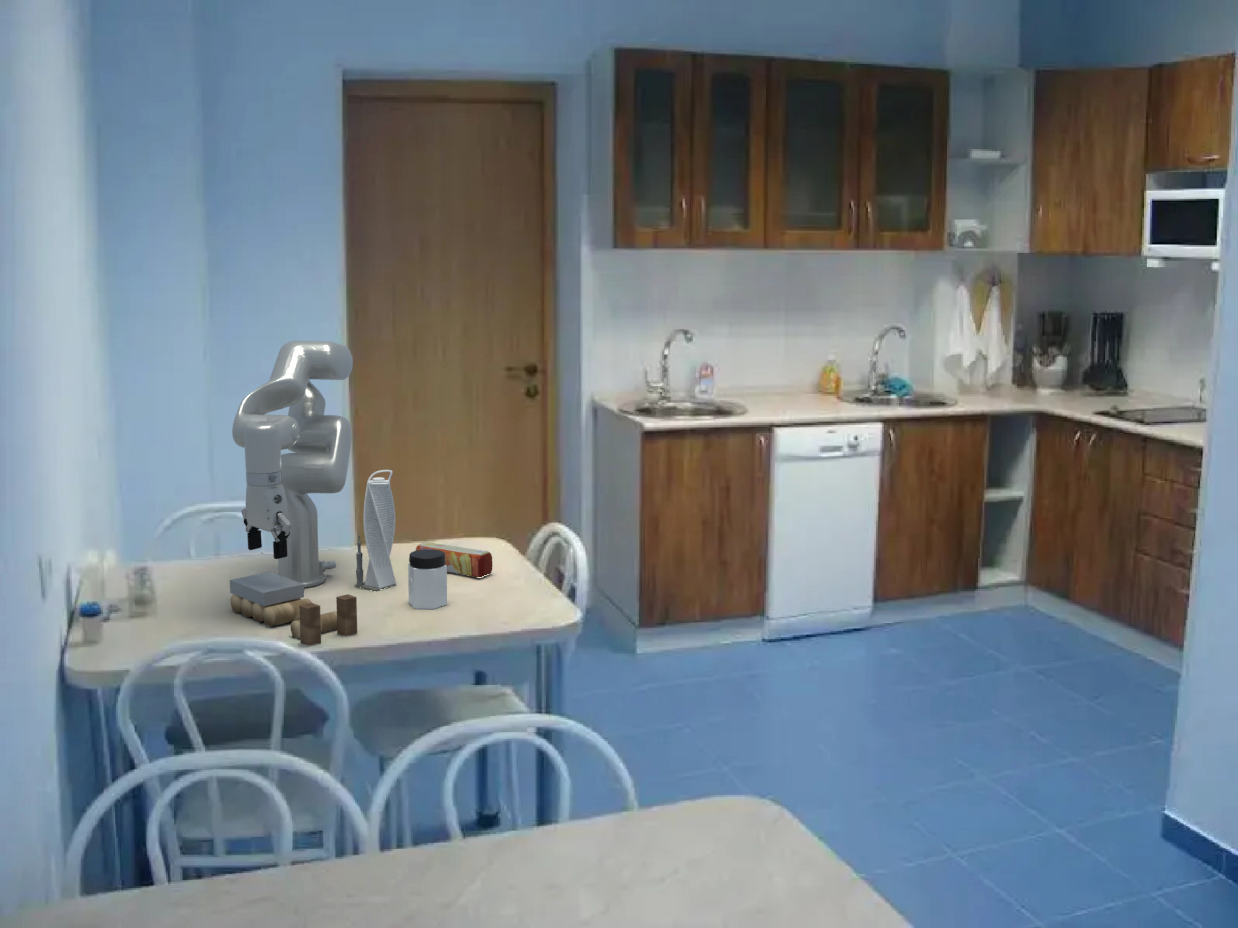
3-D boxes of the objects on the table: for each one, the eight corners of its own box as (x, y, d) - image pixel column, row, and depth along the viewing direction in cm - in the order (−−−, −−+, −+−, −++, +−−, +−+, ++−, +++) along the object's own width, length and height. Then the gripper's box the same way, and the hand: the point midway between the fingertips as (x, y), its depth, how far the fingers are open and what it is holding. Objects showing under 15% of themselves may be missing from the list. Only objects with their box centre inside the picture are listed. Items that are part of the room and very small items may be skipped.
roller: (329, 612, 274) (338, 609, 271) (333, 629, 274) (342, 626, 271) (288, 622, 267) (297, 619, 264) (293, 640, 267) (302, 637, 264)
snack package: (412, 568, 322) (412, 542, 321) (429, 562, 328) (429, 537, 326) (478, 581, 311) (478, 554, 310) (494, 575, 316) (494, 549, 315)
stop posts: (349, 630, 271) (348, 594, 270) (357, 633, 269) (356, 597, 268) (300, 642, 263) (299, 605, 261) (308, 645, 261) (307, 608, 259)
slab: (269, 584, 290) (269, 571, 289) (304, 597, 280) (303, 584, 280) (230, 592, 282) (229, 579, 282) (264, 606, 273) (263, 592, 272)
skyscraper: (380, 579, 311) (378, 467, 306) (403, 584, 306) (402, 471, 301) (354, 586, 304) (352, 472, 299) (378, 592, 299) (376, 476, 294)
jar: (405, 600, 293) (404, 550, 291) (439, 597, 296) (438, 547, 294) (415, 611, 285) (415, 560, 283) (450, 607, 288) (450, 556, 286)
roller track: (270, 601, 290) (269, 584, 290) (313, 618, 278) (313, 600, 278) (230, 610, 283) (230, 592, 282) (273, 628, 271) (273, 609, 271)
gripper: (302, 481, 274) (305, 557, 277) (256, 469, 285) (259, 542, 288) (272, 487, 268) (276, 565, 272) (226, 474, 279) (230, 549, 283)
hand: (267, 553), depth 280 cm, fingers open, 9 cm apart
